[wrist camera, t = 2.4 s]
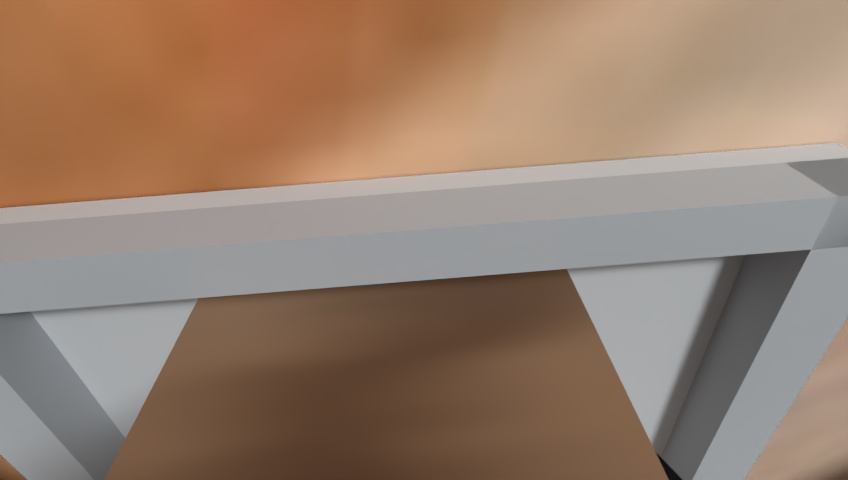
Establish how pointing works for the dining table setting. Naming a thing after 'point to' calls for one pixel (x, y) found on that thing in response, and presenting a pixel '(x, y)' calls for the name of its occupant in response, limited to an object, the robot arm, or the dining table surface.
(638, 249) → the bay
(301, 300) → the box
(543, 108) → the dining table surface
